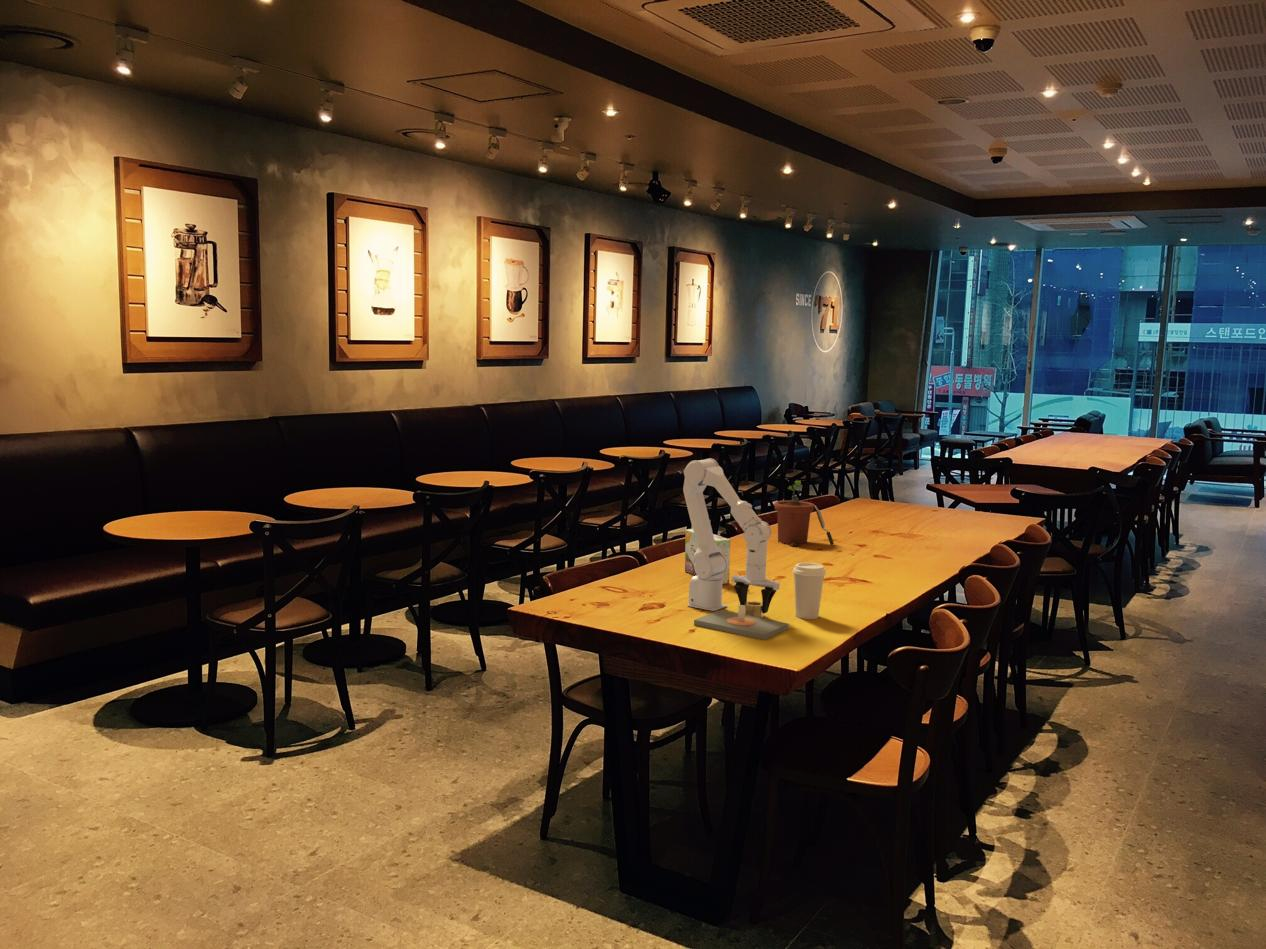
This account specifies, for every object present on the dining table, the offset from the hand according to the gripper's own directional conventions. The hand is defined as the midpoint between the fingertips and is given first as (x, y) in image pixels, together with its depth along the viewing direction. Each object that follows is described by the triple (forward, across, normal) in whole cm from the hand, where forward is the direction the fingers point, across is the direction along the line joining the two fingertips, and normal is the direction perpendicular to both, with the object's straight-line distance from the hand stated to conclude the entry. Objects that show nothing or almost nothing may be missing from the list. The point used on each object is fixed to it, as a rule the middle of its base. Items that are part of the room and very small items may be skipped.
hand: (754, 610), depth 291 cm
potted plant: (+2, -40, +112) cm, 119 cm away
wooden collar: (+2, 0, 0) cm, 2 cm away
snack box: (+2, -36, +33) cm, 49 cm away
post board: (+2, +3, -13) cm, 13 cm away
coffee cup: (+2, +12, +10) cm, 16 cm away
